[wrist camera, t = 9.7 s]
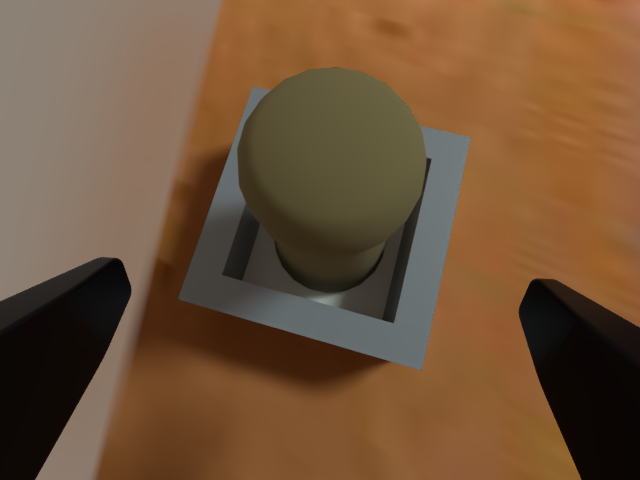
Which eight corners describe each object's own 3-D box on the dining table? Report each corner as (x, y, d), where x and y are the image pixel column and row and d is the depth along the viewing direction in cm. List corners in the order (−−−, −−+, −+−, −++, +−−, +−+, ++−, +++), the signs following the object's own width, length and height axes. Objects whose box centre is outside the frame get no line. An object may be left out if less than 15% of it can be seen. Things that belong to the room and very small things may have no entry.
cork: (288, 306, 18) (230, 294, 7) (263, 198, 20) (183, 56, 9) (400, 276, 18) (500, 224, 8) (368, 172, 20) (415, 1, 9)
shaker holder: (399, 357, 19) (421, 370, 14) (211, 302, 19) (177, 299, 15) (440, 175, 21) (470, 137, 16) (268, 133, 21) (253, 86, 17)
